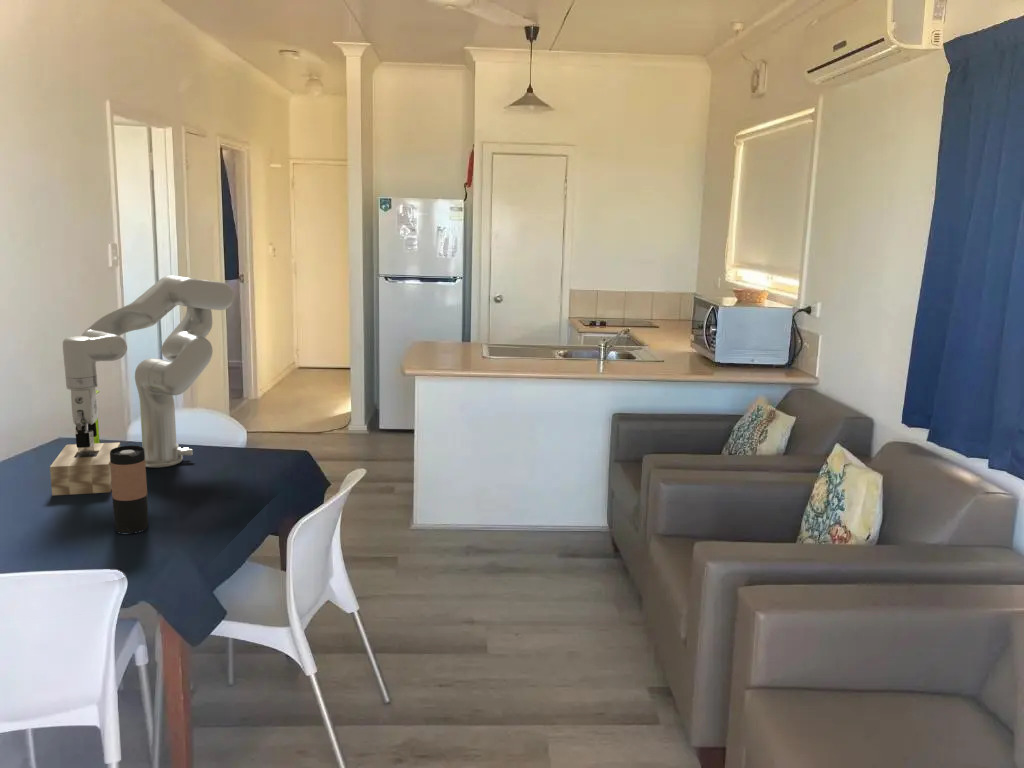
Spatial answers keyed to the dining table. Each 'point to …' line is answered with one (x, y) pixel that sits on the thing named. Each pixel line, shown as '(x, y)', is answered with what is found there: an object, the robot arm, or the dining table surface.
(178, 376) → the robot arm
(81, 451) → the peg
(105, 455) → the socket block
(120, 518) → the travel mug
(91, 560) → the dining table surface
